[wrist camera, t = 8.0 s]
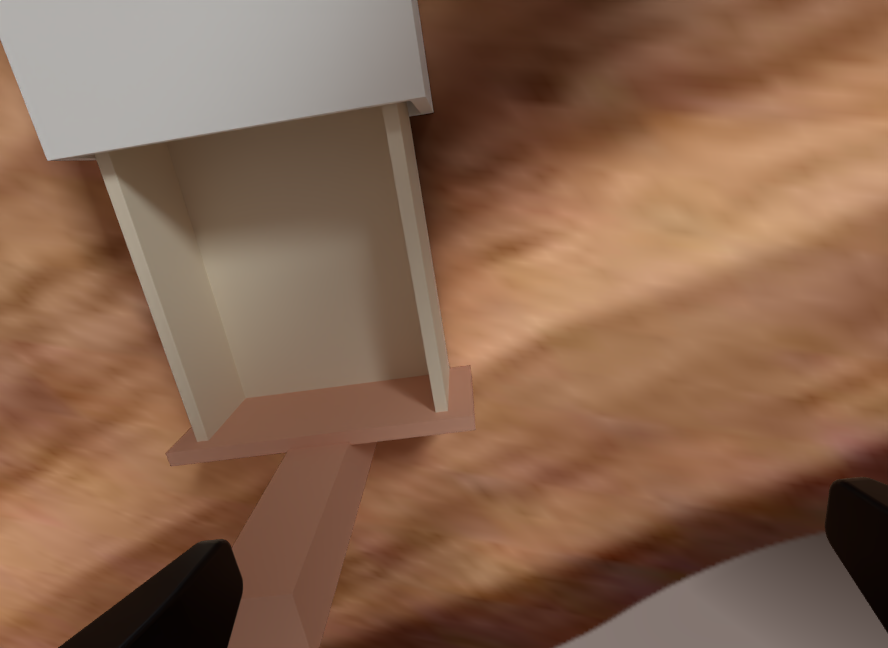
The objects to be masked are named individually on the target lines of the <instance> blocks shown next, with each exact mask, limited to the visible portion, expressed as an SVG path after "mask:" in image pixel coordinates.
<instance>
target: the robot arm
mask: <svg viewBox="0 0 888 648" xmlns="http://www.w3.org/2000/svg"><path fill="white" fill-rule="evenodd" d="M825 532H826V535H827V538H828V540H829V542H830V544H831V546H832V548H833V549H834V551H835V552H836V554H837V555H838V557H839V558H840V560H841V562H842V563H843V565H844V566H845V568H846V569H847V571H848V572H849V574H850V575H851V577H852V578H853V580H854V582H855V583H856V585H857V586H858V588H859V589H860V591H861V593H862V594H863V595H864V597H865V599H866V600H867V602H868V603H869V605H870V606H871V608H872V610H873V611H874V613H875V614H876V616H877V617H878V619H879V620H880V622H881V623H882V625H883V627H884V628H885V630H886V631H887V633H888V485H886V484H884V483H881V482H879V481H876V480H874V479H871V478H867V477H856V478H846V479H838V480H836V481H834V482H833V483H832V484H831V486H830V489H829V497H828V504H827V511H826V518H825ZM242 594H243V579H242V575H241V573H240V570H239V567H238V564H237V562H236V559H235V556H234V553H233V551H232V548H231V545H230V543H229V542H228V541H226V540H224V539H217V540H207V541H201V542H198V543H197V544H195V545H194V546H192V547H191V548H190V549H189V550H187V551H186V552H185V553H183V554H182V555H181V556H179V557H178V558H177V559H175V560H174V561H173V562H171V563H170V564H169V565H167V566H166V567H165V568H163V569H162V570H161V571H159V572H158V573H157V574H155V575H154V576H153V577H151V578H150V579H149V580H147V581H146V582H145V583H143V584H142V585H141V586H139V587H138V588H137V589H135V590H134V591H133V592H131V593H130V594H129V595H127V596H126V597H125V598H123V599H122V600H121V601H120V602H118V603H117V604H116V605H114V606H113V607H112V608H110V609H109V610H108V611H106V612H105V613H104V614H102V615H101V616H100V617H98V618H97V619H96V620H94V621H93V622H92V623H90V624H89V625H88V626H86V627H85V628H84V629H82V630H81V631H80V632H78V633H77V634H76V635H74V636H73V637H72V638H70V639H69V640H68V641H66V642H65V643H64V644H62V645H61V646H60V647H58V648H228V644H229V641H230V637H231V634H232V630H233V626H234V623H235V619H236V616H237V612H238V609H239V605H240V602H241V598H242Z"/></svg>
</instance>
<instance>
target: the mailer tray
mask: <svg viewBox="0 0 888 648" xmlns="http://www.w3.org/2000/svg"><path fill="white" fill-rule="evenodd" d="M95 157H96V160H97V163H98V166H99V168H100V171H101V174H102V177H103V180H104V182H105V185H106V188H107V191H108V194H109V196H110V199H111V202H112V205H113V208H114V210H115V213H116V216H117V219H118V222H119V224H120V227H121V230H122V233H123V236H124V238H125V241H126V244H127V247H128V250H129V252H130V255H131V258H132V261H133V264H134V266H135V269H136V272H137V275H138V278H139V280H140V283H141V286H142V289H143V292H144V294H145V297H146V300H147V303H148V306H149V308H150V311H151V314H152V317H153V320H154V322H155V325H156V328H157V331H158V334H159V336H160V339H161V342H162V345H163V348H164V350H165V353H166V356H167V359H168V362H169V364H170V367H171V370H172V373H173V376H174V378H175V381H176V384H177V387H178V390H179V392H180V395H181V398H182V401H183V404H184V407H185V409H186V412H187V415H188V418H189V421H190V423H191V426H192V427H191V428H190V429H189V430H188V431H187V432H186V433H185V434H184V435H183V436H182V437H181V438H180V439H179V440H178V441H177V442H176V443H175V444H174V445H173V446H172V447H171V448H170V449H169V450H168V451H167V452H166V455H167V458H168V461H169V463H170V466H178V465H186V464H195V463H203V462H211V461H220V460H228V459H236V458H245V457H253V456H262V455H270V454H278V453H286V455H285V457H284V458H283V460H282V462H281V463H280V465H279V467H278V469H277V470H276V472H275V474H274V476H273V477H272V479H271V481H270V483H269V484H268V486H267V488H266V489H265V491H264V493H263V495H262V496H261V498H260V500H259V502H258V503H257V505H256V507H255V508H254V510H253V512H252V514H251V515H250V517H249V519H248V521H247V522H246V524H245V526H244V528H243V529H242V531H241V533H240V534H239V536H238V538H237V540H236V541H235V543H234V545H233V547H232V551H233V553H234V556H235V559H236V562H237V564H238V567H239V570H240V573H241V575H242V579H243V594H242V598H241V602H240V605H239V609H238V612H237V616H236V619H235V623H234V626H233V630H232V634H231V637H230V641H229V644H228V648H319V647H320V644H321V640H322V637H323V633H324V630H325V626H326V622H327V619H328V615H329V612H330V608H331V605H332V601H333V597H334V594H335V590H336V587H337V583H338V580H339V576H340V573H341V569H342V565H343V562H344V558H345V555H346V551H347V548H348V544H349V540H350V537H351V533H352V530H353V526H354V523H355V519H356V516H357V512H358V508H359V505H360V501H361V498H362V494H363V491H364V487H365V483H366V480H367V476H368V473H369V469H370V466H371V462H372V459H373V455H374V451H375V448H376V444H377V442H379V441H387V440H395V439H404V438H412V437H420V436H429V435H437V434H446V433H454V432H462V431H471V430H476V429H475V415H474V400H473V386H472V374H471V367H470V365H467V366H460V367H452V368H449V361H448V355H447V349H446V343H445V337H444V330H443V324H442V318H441V312H440V305H439V299H438V293H437V287H436V281H435V274H434V268H433V262H432V256H431V249H430V243H429V237H428V231H427V225H426V218H425V212H424V206H423V200H422V193H421V187H420V181H419V175H418V169H417V162H416V156H415V150H414V144H413V137H412V131H411V125H410V119H409V113H408V106H407V101H405V102H399V103H393V104H387V105H381V106H376V107H370V108H364V109H358V110H352V111H346V112H340V113H334V114H328V115H322V116H316V117H311V118H305V119H299V120H293V121H287V122H281V123H275V124H269V125H263V126H257V127H252V128H246V129H240V130H234V131H228V132H222V133H216V134H210V135H204V136H198V137H192V138H187V139H181V140H175V141H169V142H163V143H157V144H151V145H145V146H139V147H133V148H128V149H122V150H116V151H110V152H104V153H98V154H95Z"/></svg>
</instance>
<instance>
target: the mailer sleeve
mask: <svg viewBox="0 0 888 648" xmlns="http://www.w3.org/2000/svg"><path fill="white" fill-rule="evenodd" d="M0 39H1V42H2V44H3V47H4V50H5V52H6V55H7V57H8V60H9V62H10V65H11V68H12V70H13V73H14V75H15V78H16V81H17V83H18V86H19V88H20V91H21V93H22V96H23V99H24V101H25V104H26V106H27V109H28V112H29V114H30V117H31V119H32V122H33V124H34V127H35V130H36V132H37V135H38V137H39V140H40V143H41V145H42V148H43V150H44V153H45V155H46V158H47V161H65V160H96V157H95V154H98V153H104V152H110V151H116V150H122V149H128V148H133V147H139V146H145V145H151V144H157V143H163V142H169V141H175V140H181V139H187V138H192V137H198V136H204V135H210V134H216V133H222V132H228V131H234V130H240V129H246V128H252V127H257V126H263V125H269V124H275V123H281V122H287V121H293V120H299V119H305V118H311V117H316V116H322V115H328V114H334V113H340V112H346V111H352V110H358V109H364V108H370V107H376V106H381V105H387V104H393V103H399V102H405V101H407V106H408V113H409V117H411V116H417V115H423V114H429V113H434V111H433V104H432V98H431V91H430V84H429V77H428V70H427V63H426V56H425V50H424V43H423V36H422V29H421V22H420V15H419V8H418V1H417V0H0Z"/></svg>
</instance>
